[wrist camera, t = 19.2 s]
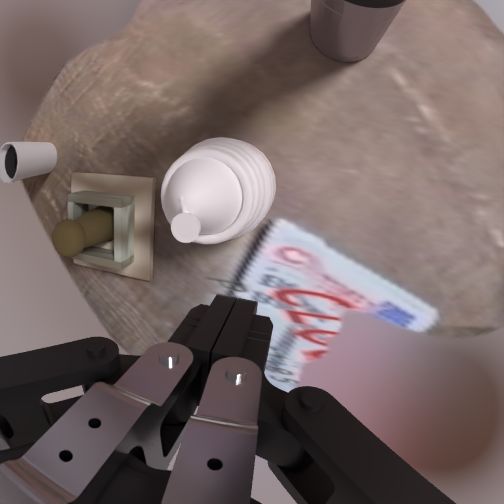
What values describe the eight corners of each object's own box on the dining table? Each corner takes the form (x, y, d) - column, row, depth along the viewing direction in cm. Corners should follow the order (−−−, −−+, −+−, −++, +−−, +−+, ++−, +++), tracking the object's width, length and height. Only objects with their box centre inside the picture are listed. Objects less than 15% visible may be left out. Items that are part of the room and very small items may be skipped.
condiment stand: (76, 172, 46) (56, 175, 41) (156, 177, 44) (139, 180, 39) (77, 260, 51) (60, 270, 46) (153, 278, 49) (137, 291, 44)
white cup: (48, 132, 44) (8, 133, 35) (63, 158, 45) (23, 162, 36) (31, 157, 46) (-7, 162, 37) (46, 183, 47) (6, 191, 38)
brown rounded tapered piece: (99, 246, 47) (56, 268, 37) (86, 212, 46) (40, 228, 36) (126, 234, 46) (83, 256, 35) (112, 198, 44) (66, 212, 34)
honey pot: (284, 221, 43) (271, 265, 26) (197, 238, 45) (138, 287, 28) (263, 129, 39) (234, 109, 22) (175, 153, 42) (101, 155, 25)
